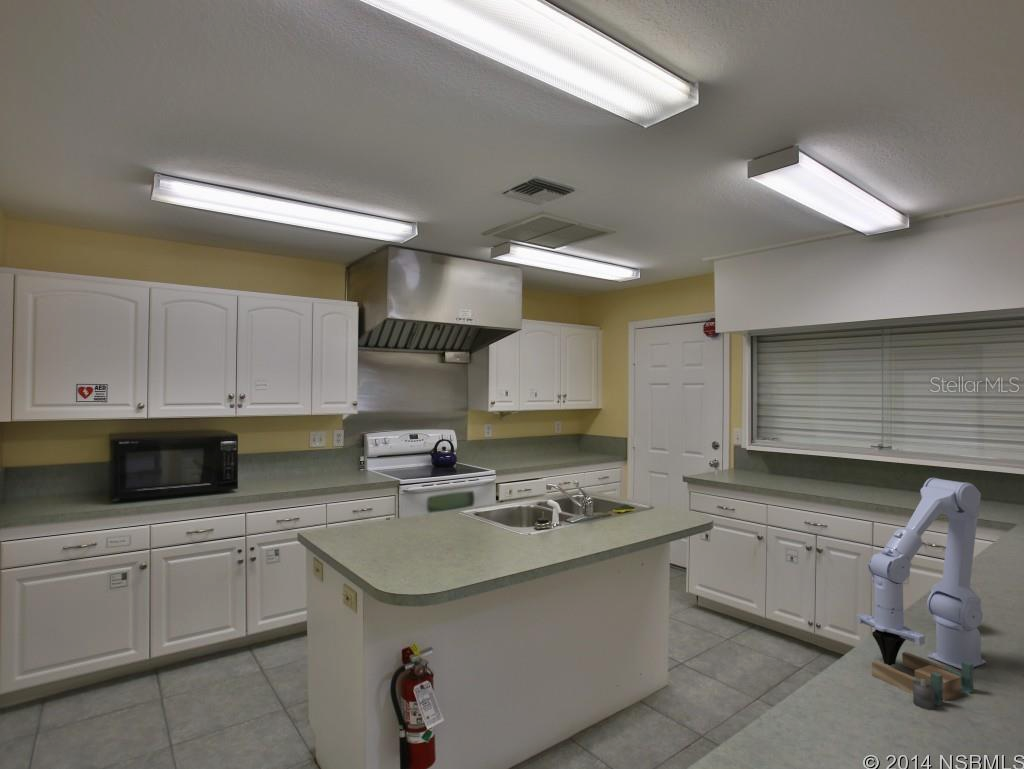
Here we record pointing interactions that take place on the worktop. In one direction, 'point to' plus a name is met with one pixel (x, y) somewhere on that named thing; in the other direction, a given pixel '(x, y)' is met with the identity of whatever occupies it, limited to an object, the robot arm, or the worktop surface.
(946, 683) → the brown wooden block
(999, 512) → the worktop surface
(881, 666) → the bay
